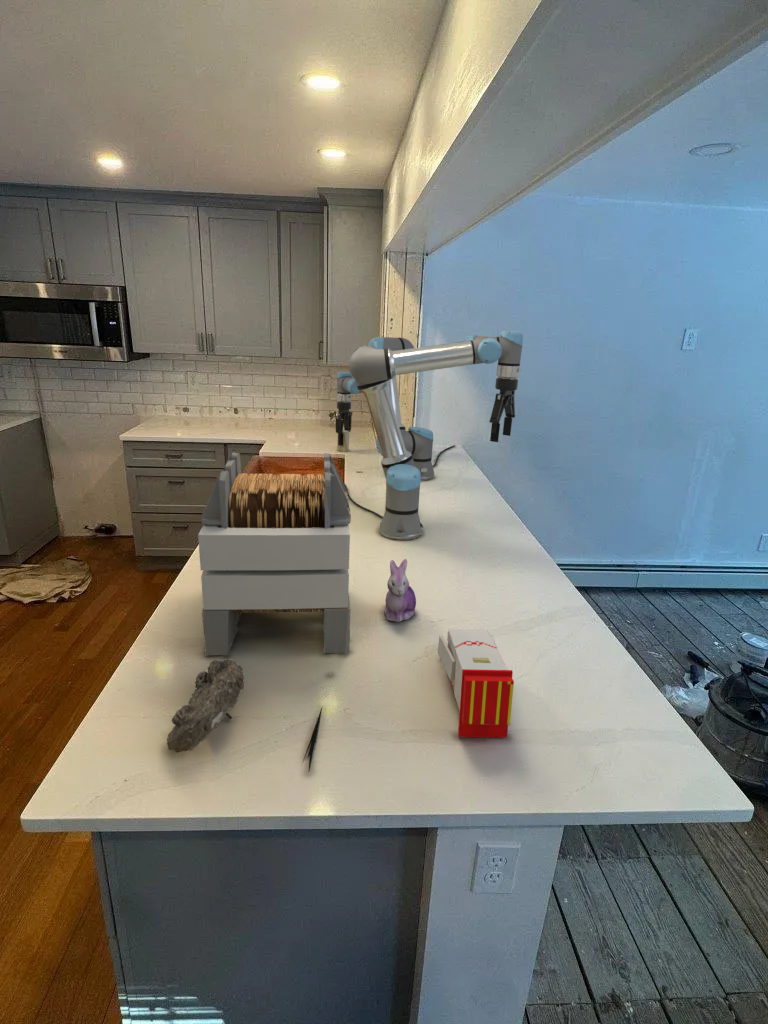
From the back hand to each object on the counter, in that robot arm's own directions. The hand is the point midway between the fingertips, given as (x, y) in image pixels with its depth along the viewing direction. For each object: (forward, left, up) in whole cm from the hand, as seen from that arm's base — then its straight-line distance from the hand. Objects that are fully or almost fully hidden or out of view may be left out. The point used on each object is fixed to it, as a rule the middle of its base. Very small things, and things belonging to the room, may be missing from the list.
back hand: (343, 444), depth 310 cm
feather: (+155, +149, -4) cm, 216 cm away
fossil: (+169, +134, -4) cm, 216 cm away
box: (0, 0, -4) cm, 4 cm away
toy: (+128, +166, -4) cm, 209 cm away
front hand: (+37, +116, +29) cm, 125 cm away
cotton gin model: (+136, +115, -4) cm, 179 cm away
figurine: (+114, +135, -4) cm, 176 cm away
